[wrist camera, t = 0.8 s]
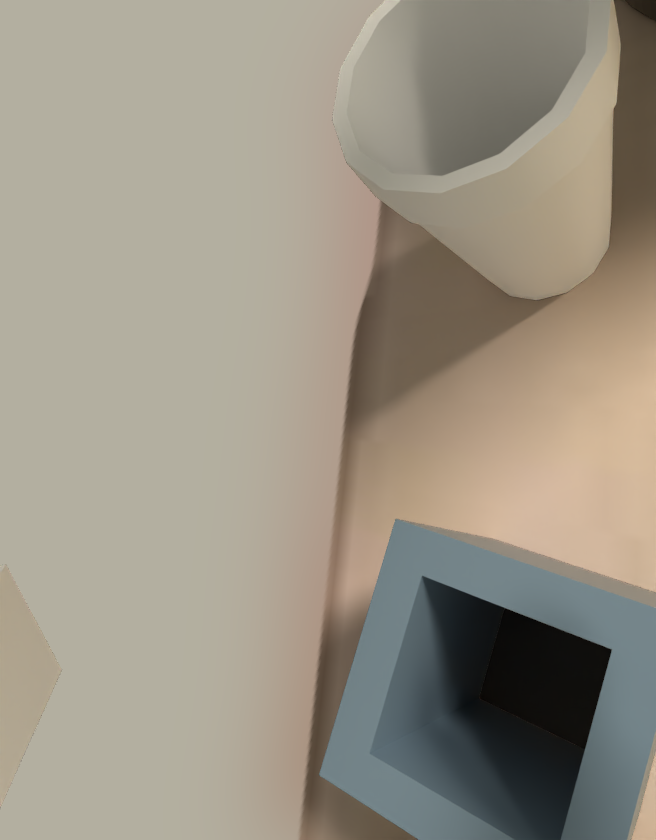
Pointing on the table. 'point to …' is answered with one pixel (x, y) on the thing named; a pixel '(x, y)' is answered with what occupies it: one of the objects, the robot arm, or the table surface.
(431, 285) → the table surface
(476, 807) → the sleeve
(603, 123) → the foam cup
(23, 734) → the robot arm
